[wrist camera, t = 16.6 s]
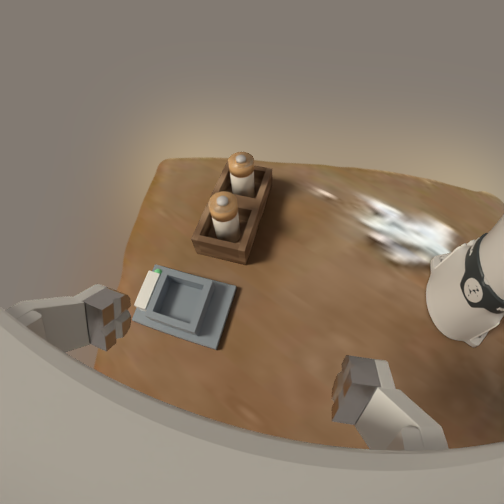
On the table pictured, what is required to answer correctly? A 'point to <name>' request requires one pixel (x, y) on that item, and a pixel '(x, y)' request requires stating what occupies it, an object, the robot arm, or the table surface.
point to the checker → (184, 305)
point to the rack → (248, 219)
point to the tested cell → (225, 216)
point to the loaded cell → (242, 174)
